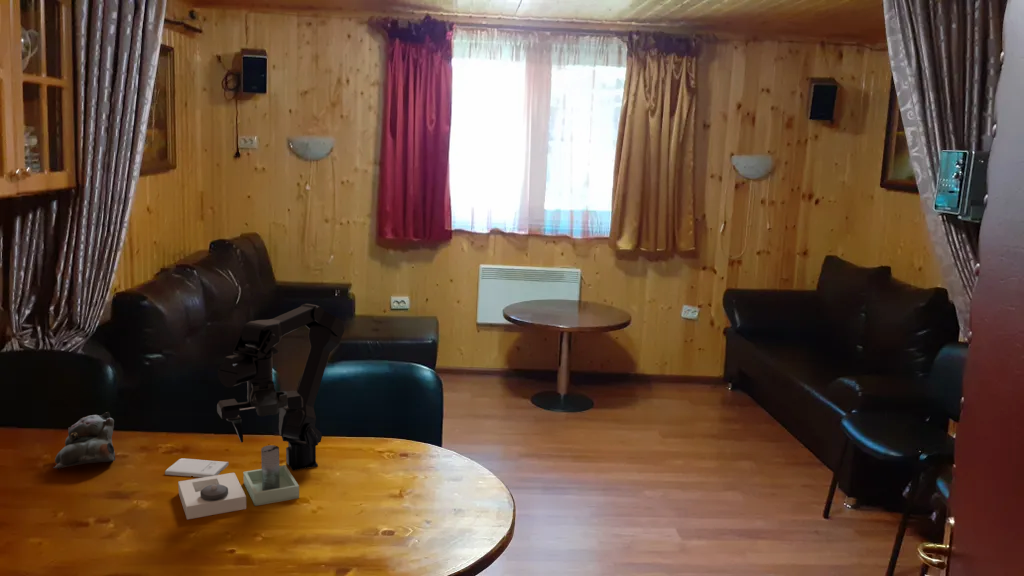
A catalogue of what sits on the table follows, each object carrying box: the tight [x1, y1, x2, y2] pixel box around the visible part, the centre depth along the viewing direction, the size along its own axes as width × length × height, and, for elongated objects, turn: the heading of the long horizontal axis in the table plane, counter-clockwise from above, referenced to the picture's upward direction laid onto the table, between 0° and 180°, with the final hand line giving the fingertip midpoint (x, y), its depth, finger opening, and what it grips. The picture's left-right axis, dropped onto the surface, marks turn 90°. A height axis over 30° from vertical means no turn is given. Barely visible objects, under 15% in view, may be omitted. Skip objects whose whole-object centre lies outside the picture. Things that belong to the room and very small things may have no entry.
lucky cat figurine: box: [53, 411, 116, 470], centre depth 202 cm, size 15×12×14 cm
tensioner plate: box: [177, 472, 247, 520], centre depth 184 cm, size 12×14×5 cm
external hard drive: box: [164, 457, 229, 478], centre depth 201 cm, size 2×8×12 cm
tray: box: [242, 464, 300, 507], centre depth 191 cm, size 10×13×3 cm
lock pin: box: [260, 444, 280, 491], centre depth 190 cm, size 4×4×10 cm
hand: (261, 438), depth 191 cm, fingers open, 9 cm apart
